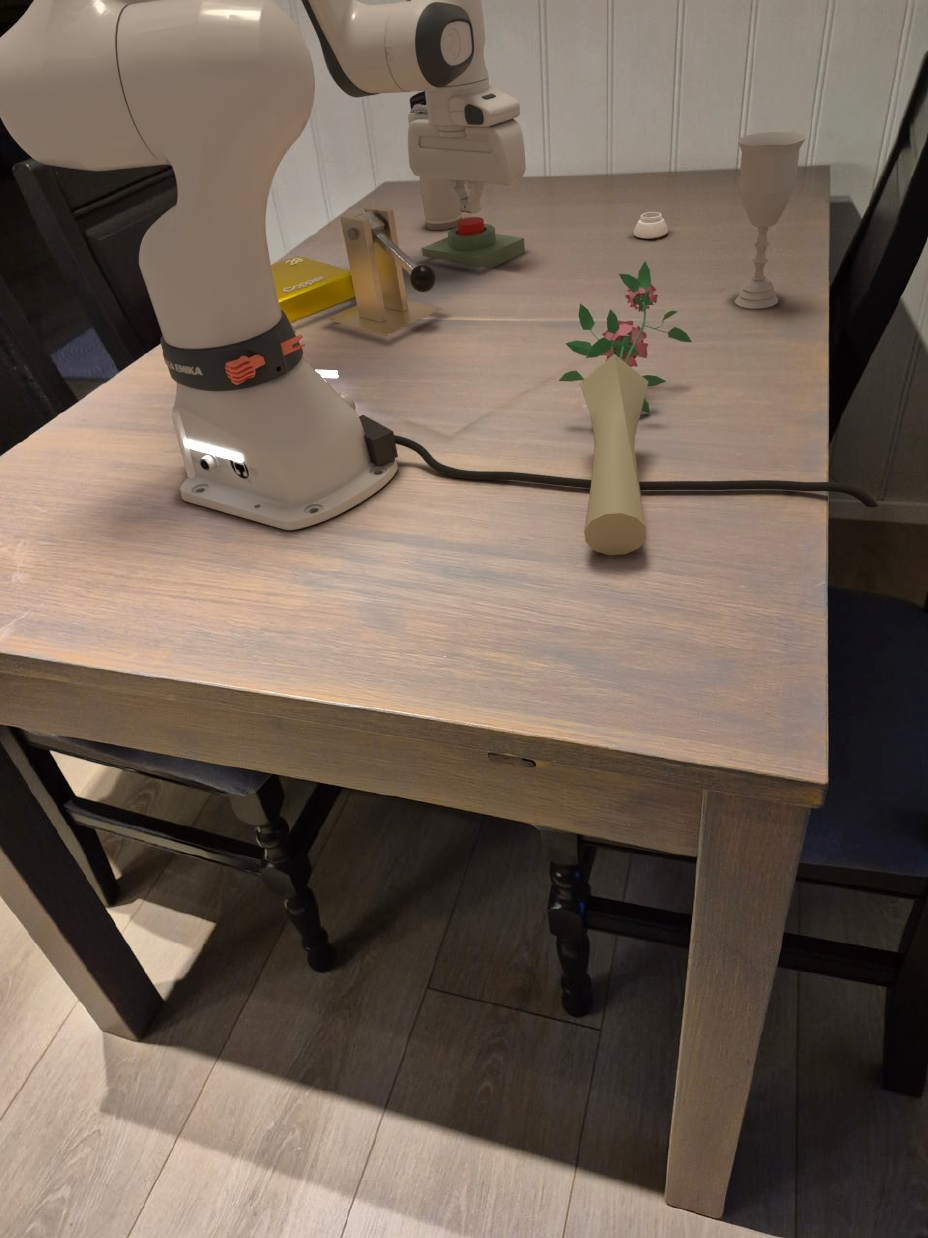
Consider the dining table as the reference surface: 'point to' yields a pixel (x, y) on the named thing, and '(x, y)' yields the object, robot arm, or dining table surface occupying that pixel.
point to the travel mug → (437, 193)
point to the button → (470, 226)
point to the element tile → (310, 286)
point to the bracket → (377, 279)
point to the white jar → (650, 226)
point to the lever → (401, 256)
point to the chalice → (766, 199)
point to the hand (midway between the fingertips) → (469, 211)
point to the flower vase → (617, 420)
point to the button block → (476, 248)
